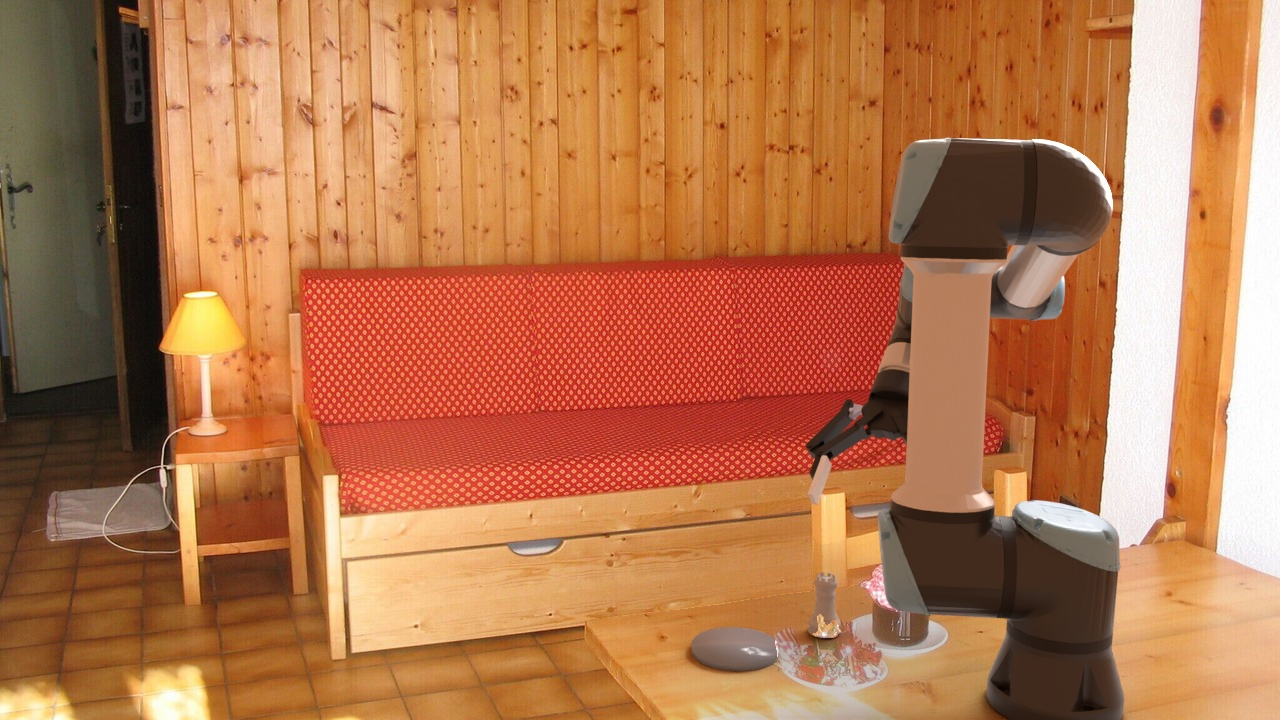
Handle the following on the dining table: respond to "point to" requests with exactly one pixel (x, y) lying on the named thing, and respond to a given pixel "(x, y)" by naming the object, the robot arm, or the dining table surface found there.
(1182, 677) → the dining table surface
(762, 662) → the glossy grey pebble
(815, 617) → the rook chess piece
